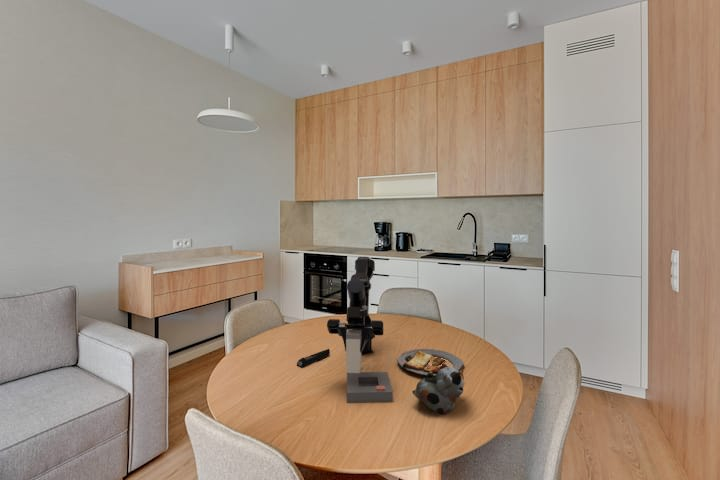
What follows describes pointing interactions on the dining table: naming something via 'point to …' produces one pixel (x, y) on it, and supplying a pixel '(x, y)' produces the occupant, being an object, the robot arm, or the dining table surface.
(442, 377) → the lucky cat figurine
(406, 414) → the dining table surface
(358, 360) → the grey rectangular block
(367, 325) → the robot arm
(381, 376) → the grey slotted slab
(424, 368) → the food plate
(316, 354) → the electric trimmer
